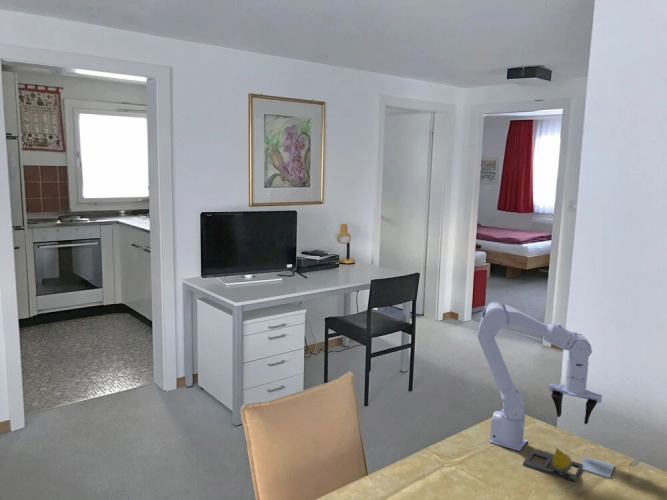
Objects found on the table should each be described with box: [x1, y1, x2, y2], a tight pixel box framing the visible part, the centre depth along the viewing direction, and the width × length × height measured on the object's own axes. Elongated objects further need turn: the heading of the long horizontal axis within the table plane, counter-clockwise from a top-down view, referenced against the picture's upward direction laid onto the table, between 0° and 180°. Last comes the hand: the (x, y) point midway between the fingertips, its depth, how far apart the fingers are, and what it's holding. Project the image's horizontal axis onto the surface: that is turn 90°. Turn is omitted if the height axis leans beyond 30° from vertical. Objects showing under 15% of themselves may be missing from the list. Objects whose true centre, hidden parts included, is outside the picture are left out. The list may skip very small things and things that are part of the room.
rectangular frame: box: [522, 449, 583, 483], centre depth 160 cm, size 14×10×1 cm
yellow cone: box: [550, 448, 573, 473], centre depth 156 cm, size 5×5×10 cm
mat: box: [580, 456, 616, 479], centre depth 160 cm, size 8×8×1 cm
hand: (572, 419), depth 167 cm, fingers open, 7 cm apart
